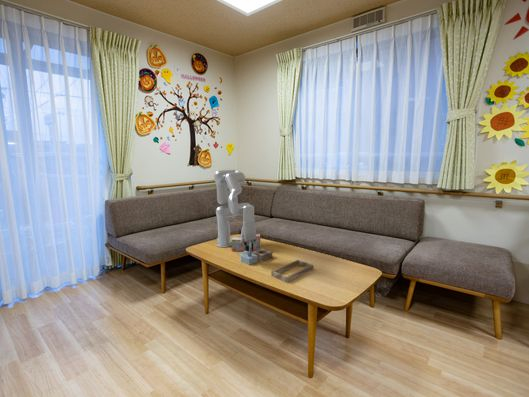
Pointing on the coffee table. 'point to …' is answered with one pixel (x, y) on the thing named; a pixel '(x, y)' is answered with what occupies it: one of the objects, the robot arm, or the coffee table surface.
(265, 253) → the square-holed wooden block
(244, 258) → the block
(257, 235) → the stack of blocks
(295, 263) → the rectangular wooden corral frame
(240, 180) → the robot arm
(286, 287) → the coffee table surface
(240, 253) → the tray
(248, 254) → the cylinder
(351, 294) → the coffee table surface
